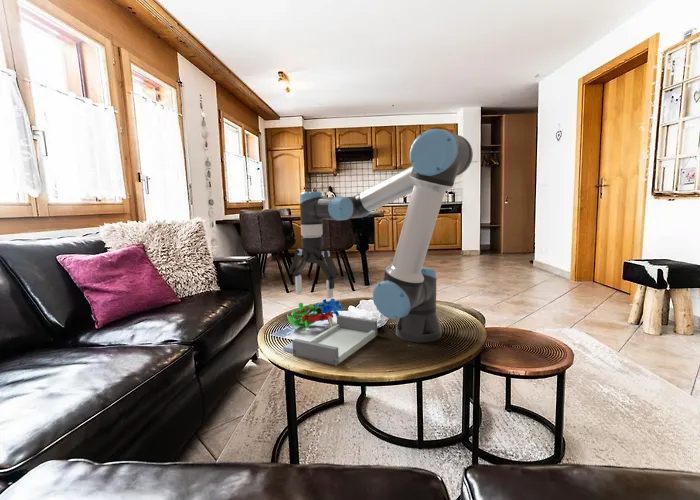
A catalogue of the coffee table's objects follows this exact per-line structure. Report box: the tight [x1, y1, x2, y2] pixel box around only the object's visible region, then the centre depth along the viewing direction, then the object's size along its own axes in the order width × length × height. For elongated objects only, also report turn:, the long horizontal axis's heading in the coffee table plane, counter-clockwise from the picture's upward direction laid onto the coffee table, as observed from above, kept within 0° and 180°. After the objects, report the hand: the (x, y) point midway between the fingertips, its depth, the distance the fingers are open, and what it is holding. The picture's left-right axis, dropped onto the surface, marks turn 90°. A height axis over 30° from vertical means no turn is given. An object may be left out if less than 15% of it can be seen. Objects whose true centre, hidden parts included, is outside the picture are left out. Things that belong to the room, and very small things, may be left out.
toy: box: [286, 297, 343, 328], centre depth 128 cm, size 20×10×11 cm
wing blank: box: [282, 338, 306, 354], centre depth 112 cm, size 7×4×2 cm, turn 150°
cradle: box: [291, 314, 378, 367], centre depth 114 cm, size 15×26×5 cm, turn 150°
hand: (314, 295), depth 129 cm, fingers open, 13 cm apart
